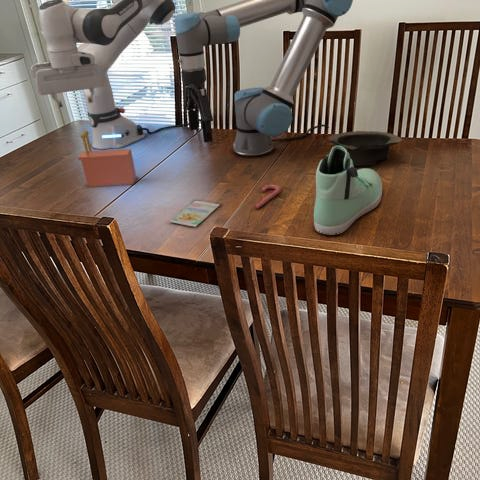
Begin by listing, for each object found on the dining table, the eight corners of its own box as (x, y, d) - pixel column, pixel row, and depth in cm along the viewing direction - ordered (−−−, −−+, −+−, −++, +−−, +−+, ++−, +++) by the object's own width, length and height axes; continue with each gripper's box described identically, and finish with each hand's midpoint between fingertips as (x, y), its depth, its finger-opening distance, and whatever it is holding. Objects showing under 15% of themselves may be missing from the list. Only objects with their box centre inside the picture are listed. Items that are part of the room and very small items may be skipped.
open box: (87, 186, 165) (80, 160, 160) (92, 180, 170) (85, 154, 165) (133, 184, 165) (127, 157, 159) (136, 177, 169) (131, 151, 164)
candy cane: (241, 205, 145) (241, 201, 144) (268, 186, 155) (268, 182, 154) (258, 210, 142) (258, 205, 141) (284, 190, 152) (284, 185, 151)
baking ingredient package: (169, 220, 138) (195, 199, 150) (169, 222, 139) (195, 200, 150) (195, 225, 135) (220, 203, 146) (195, 227, 135) (220, 205, 147)
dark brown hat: (359, 176, 156) (359, 149, 151) (314, 159, 176) (313, 134, 172) (416, 158, 164) (418, 131, 160) (367, 143, 185) (368, 119, 180)
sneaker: (389, 187, 148) (396, 123, 138) (356, 242, 123) (361, 168, 112) (346, 181, 154) (350, 119, 144) (306, 232, 129) (307, 161, 118)
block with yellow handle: (78, 160, 160) (72, 135, 156) (83, 154, 165) (77, 130, 160) (127, 157, 159) (122, 132, 155) (131, 151, 164) (126, 127, 160)
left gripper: (28, 65, 142) (41, 112, 149) (98, 57, 146) (108, 102, 153) (30, 62, 147) (42, 107, 154) (97, 53, 151) (107, 98, 158)
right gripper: (169, 63, 155) (178, 127, 167) (195, 78, 136) (203, 149, 147) (191, 60, 158) (198, 123, 169) (219, 74, 138) (225, 144, 149)
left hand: (76, 104), depth 154 cm, fingers open, 8 cm apart
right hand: (200, 135), depth 158 cm, fingers open, 13 cm apart
